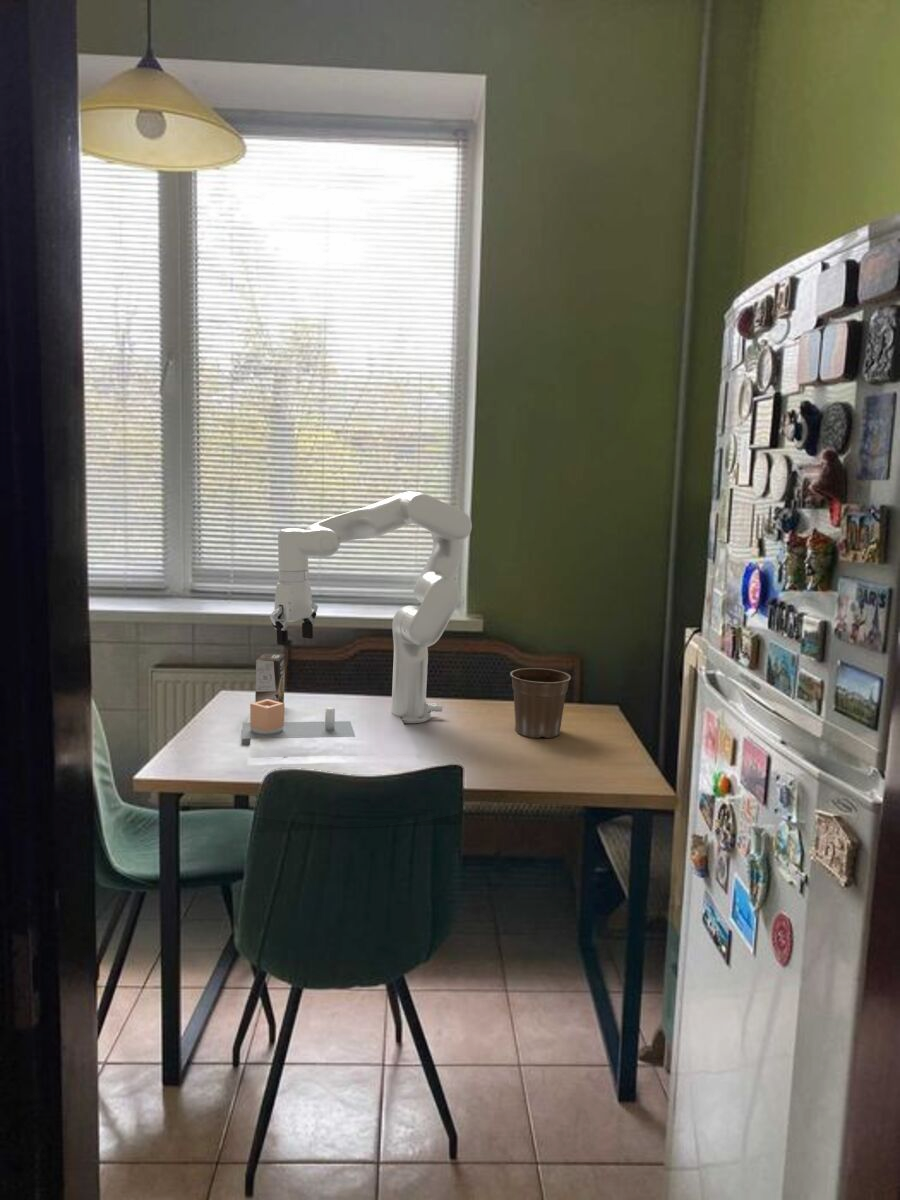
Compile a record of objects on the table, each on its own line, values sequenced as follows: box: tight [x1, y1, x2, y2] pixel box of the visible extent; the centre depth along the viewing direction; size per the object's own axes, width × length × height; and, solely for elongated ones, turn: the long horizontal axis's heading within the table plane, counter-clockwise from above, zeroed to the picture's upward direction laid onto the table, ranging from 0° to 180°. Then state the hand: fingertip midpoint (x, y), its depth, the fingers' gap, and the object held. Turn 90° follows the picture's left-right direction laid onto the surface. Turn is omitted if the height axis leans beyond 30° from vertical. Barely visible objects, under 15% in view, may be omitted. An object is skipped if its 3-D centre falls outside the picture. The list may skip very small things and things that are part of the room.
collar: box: [249, 699, 285, 731], centre depth 222 cm, size 6×6×6 cm
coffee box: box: [254, 653, 286, 703], centre depth 241 cm, size 9×6×16 cm
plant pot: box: [509, 667, 572, 739], centre depth 236 cm, size 16×16×16 cm
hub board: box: [241, 705, 356, 745], centre depth 224 cm, size 28×13×8 cm, turn 102°
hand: (295, 641), depth 227 cm, fingers open, 9 cm apart
